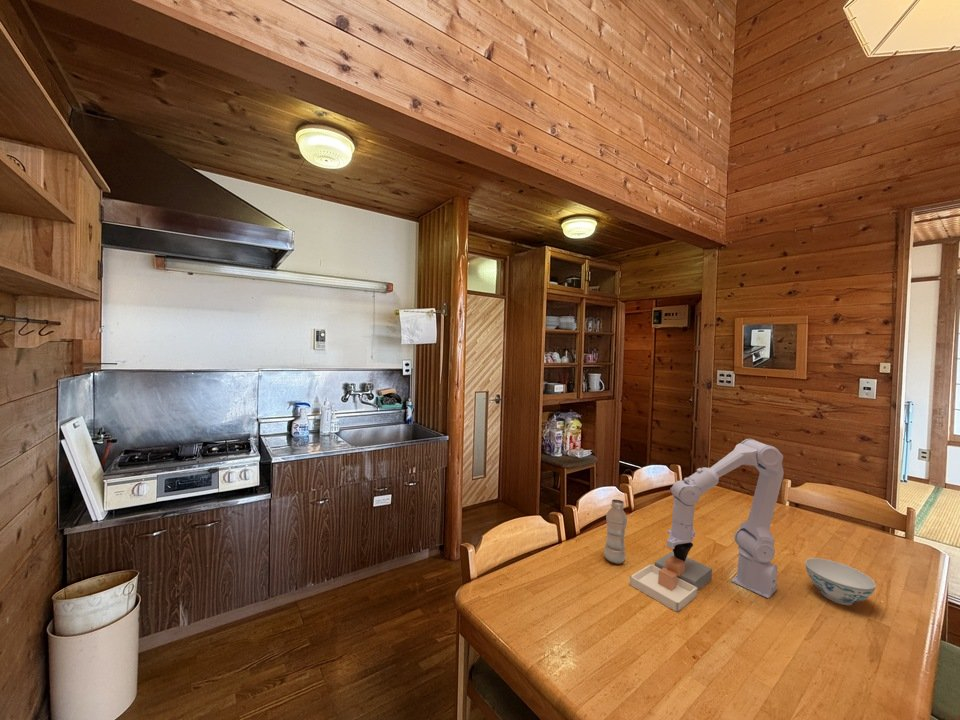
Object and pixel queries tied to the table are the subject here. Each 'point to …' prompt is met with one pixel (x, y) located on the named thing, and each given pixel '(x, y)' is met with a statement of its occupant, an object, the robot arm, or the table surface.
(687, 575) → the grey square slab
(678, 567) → the orange brown block
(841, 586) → the chinaware
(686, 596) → the tray
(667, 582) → the terracotta block
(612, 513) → the plastic bottle
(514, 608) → the table surface
